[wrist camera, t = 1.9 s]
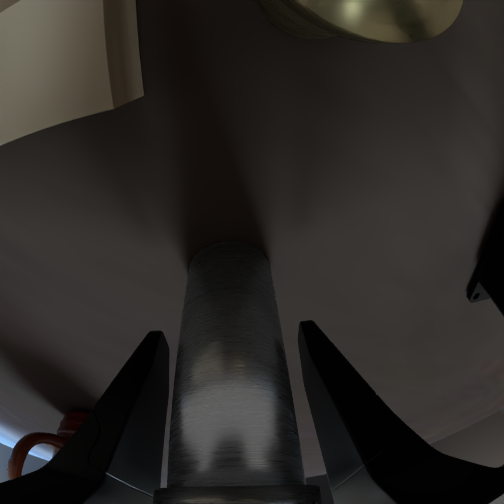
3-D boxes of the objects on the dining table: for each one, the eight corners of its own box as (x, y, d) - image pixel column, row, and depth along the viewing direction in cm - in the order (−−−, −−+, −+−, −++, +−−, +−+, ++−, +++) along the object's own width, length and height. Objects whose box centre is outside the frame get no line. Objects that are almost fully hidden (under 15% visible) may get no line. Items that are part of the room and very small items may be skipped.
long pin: (278, 229, 11) (341, 511, 3) (278, 304, 13) (312, 521, 6) (172, 237, 11) (124, 515, 3) (190, 311, 13) (178, 526, 6)
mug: (167, 438, 23) (164, 540, 14) (106, 442, 24) (97, 525, 16) (61, 373, 16) (30, 509, 8) (13, 384, 18) (-14, 483, 10)
